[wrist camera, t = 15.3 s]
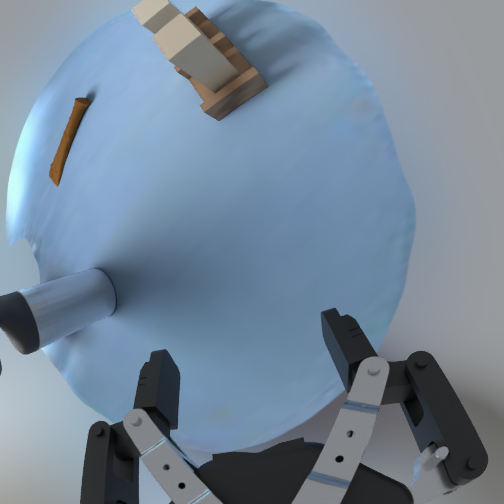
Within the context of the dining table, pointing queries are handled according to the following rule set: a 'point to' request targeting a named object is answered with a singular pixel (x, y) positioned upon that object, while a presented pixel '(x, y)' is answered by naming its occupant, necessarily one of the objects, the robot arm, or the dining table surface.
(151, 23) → the tall square post
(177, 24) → the beige rectangular block
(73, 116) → the primitive tool
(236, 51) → the rack
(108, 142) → the dining table surface
